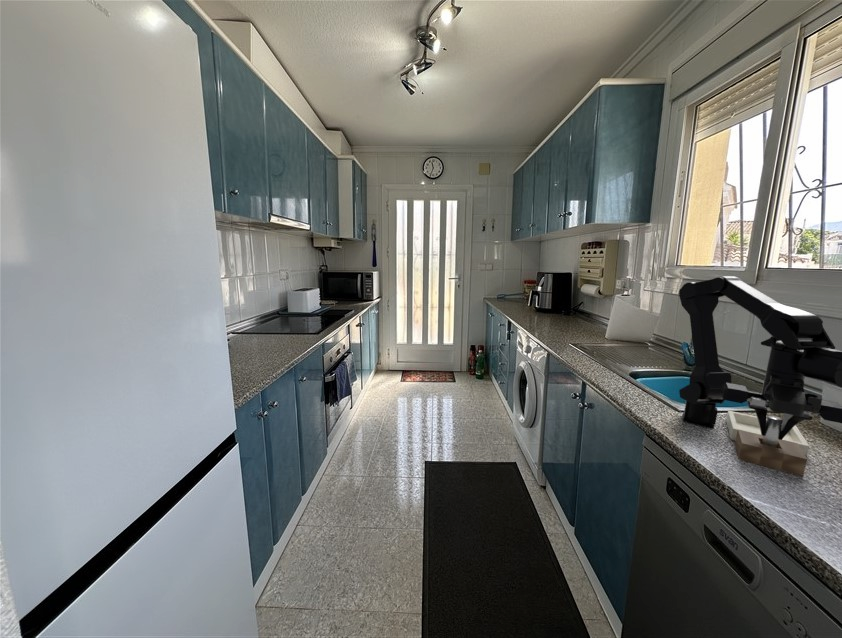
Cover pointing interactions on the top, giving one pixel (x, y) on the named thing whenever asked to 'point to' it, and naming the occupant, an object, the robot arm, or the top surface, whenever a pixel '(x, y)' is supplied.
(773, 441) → the lock pin
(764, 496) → the top surface
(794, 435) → the tray
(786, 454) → the block
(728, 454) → the top surface
